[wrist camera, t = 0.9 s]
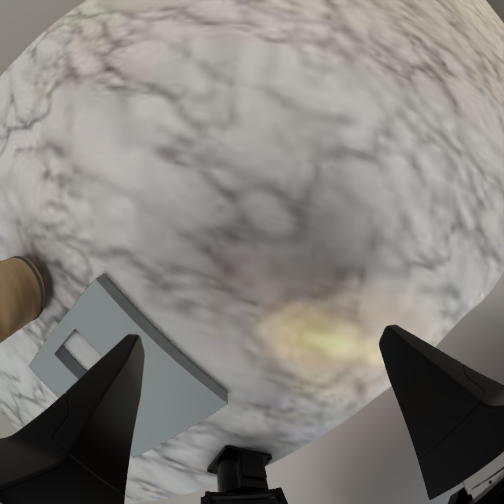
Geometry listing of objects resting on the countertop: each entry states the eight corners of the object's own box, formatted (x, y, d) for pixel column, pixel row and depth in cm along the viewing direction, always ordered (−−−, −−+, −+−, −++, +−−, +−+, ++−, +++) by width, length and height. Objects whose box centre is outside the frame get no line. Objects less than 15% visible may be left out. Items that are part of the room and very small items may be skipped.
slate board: (227, 391, 25) (228, 403, 23) (137, 446, 25) (134, 457, 23) (104, 273, 22) (95, 278, 20) (36, 358, 22) (28, 366, 20)
